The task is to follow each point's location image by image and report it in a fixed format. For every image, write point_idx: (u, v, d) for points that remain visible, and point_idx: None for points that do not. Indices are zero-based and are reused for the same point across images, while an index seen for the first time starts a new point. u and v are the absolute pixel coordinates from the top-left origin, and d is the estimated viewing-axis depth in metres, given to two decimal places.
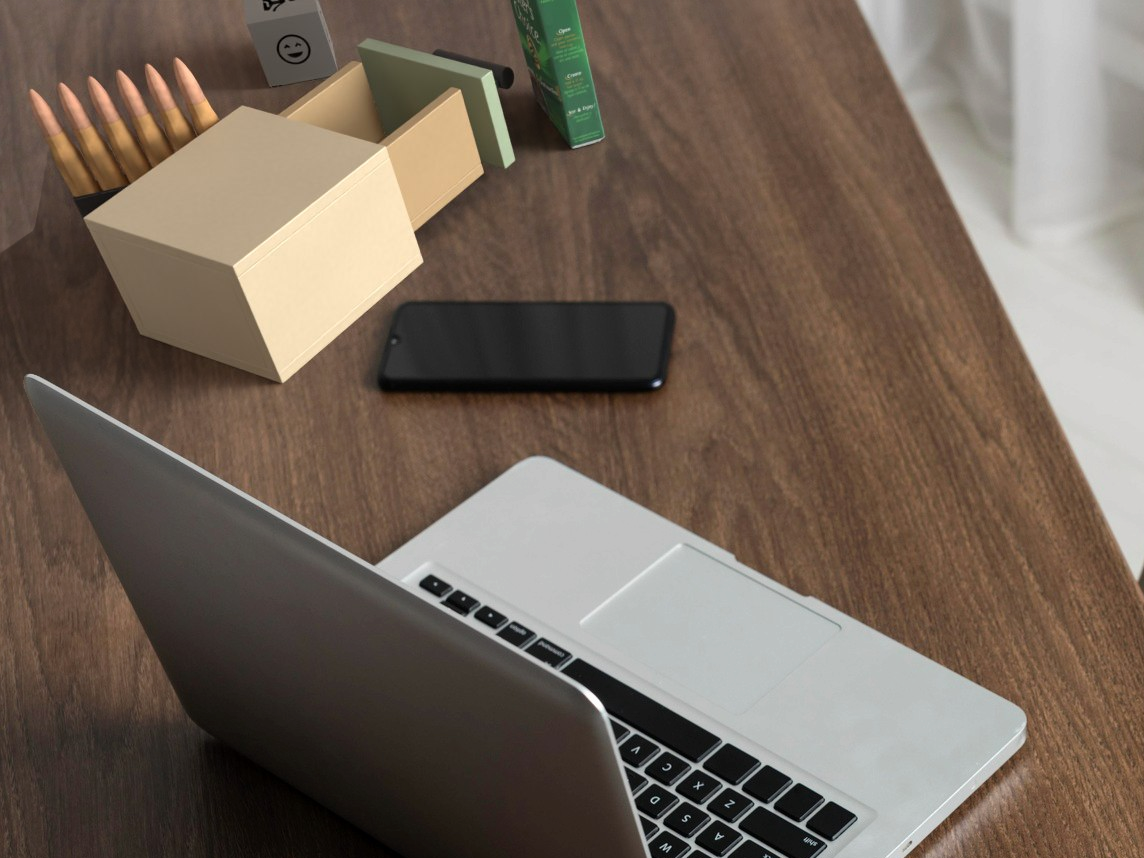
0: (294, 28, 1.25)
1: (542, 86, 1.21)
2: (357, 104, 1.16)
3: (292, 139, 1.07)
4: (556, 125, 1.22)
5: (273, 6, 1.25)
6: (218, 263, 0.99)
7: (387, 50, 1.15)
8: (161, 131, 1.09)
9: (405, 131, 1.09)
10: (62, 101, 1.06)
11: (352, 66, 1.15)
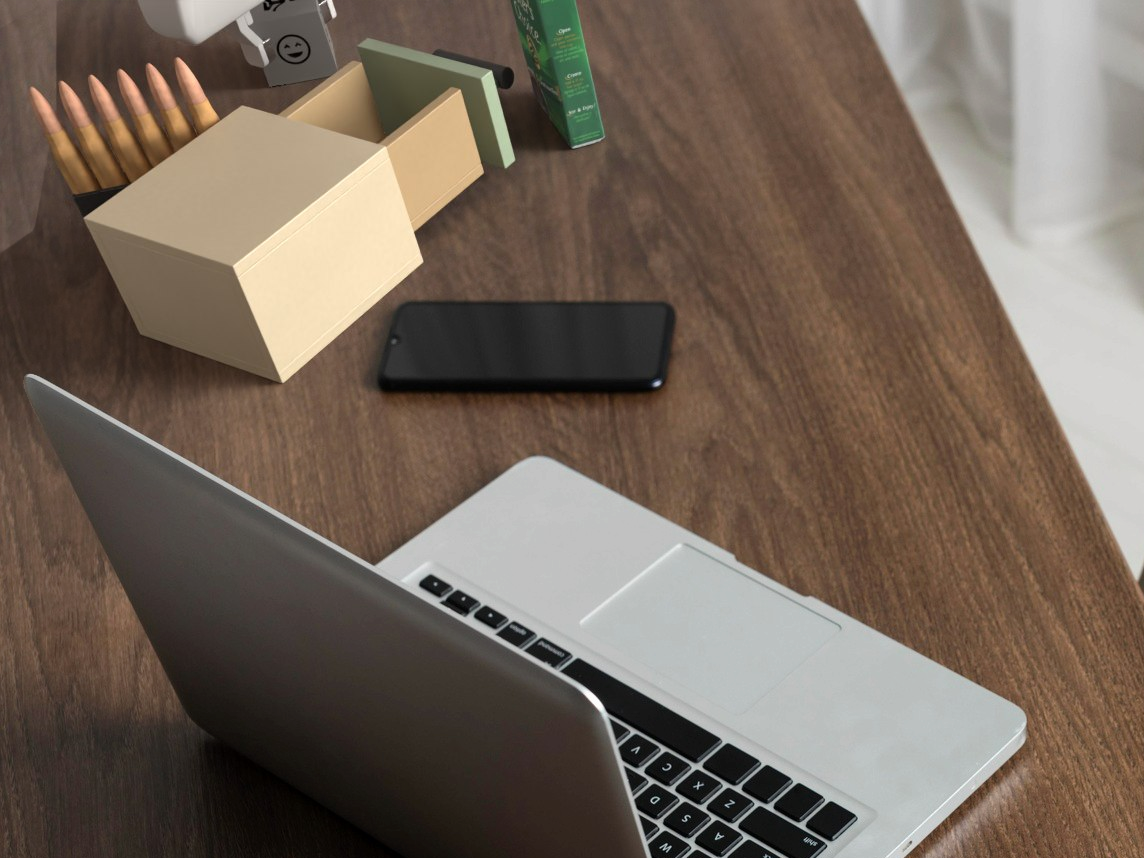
0: (294, 28, 1.25)
1: (542, 86, 1.21)
2: (357, 104, 1.16)
3: (292, 139, 1.07)
4: (556, 125, 1.22)
5: (273, 6, 1.25)
6: (218, 263, 0.99)
7: (387, 50, 1.15)
8: (161, 130, 1.09)
9: (405, 131, 1.09)
10: (63, 99, 1.06)
11: (352, 66, 1.15)
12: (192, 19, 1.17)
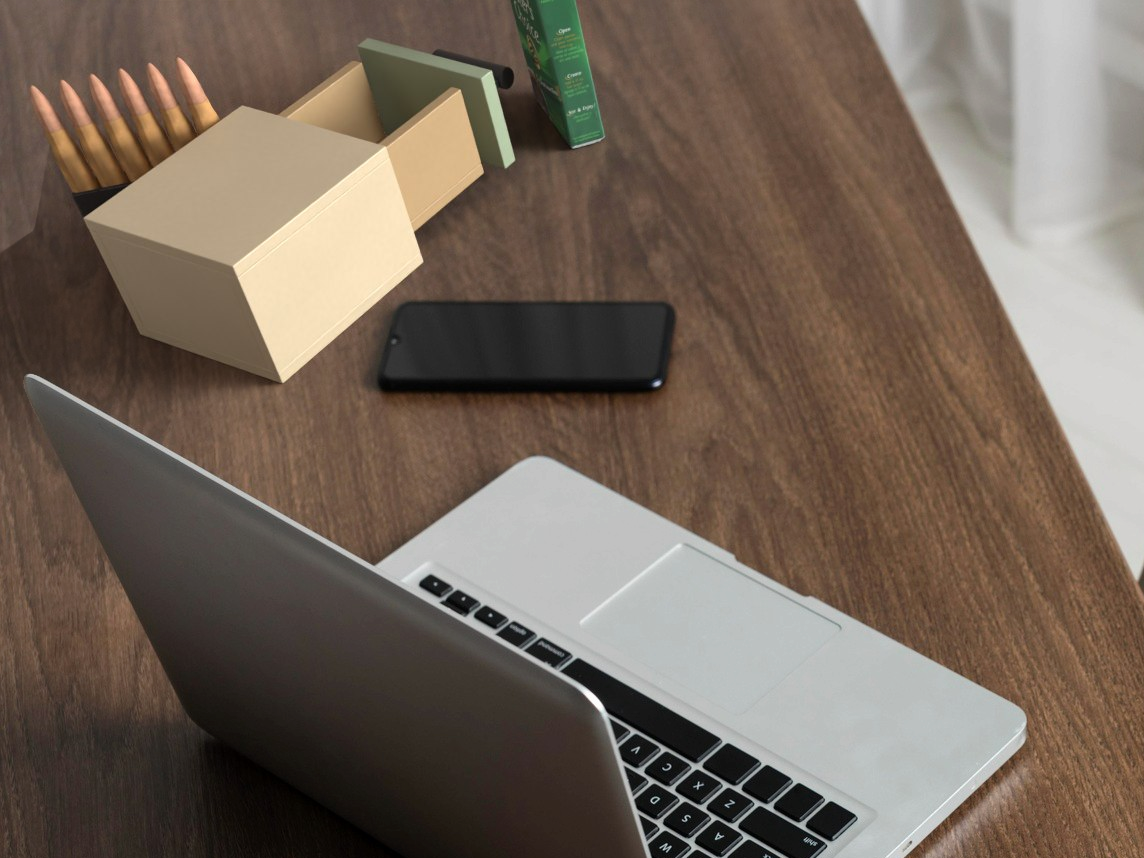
0: None
1: (542, 86, 1.21)
2: (357, 104, 1.16)
3: (292, 139, 1.07)
4: (556, 125, 1.22)
5: None
6: (218, 263, 0.99)
7: (387, 50, 1.15)
8: (161, 130, 1.09)
9: (405, 131, 1.09)
10: (63, 98, 1.06)
11: (352, 66, 1.15)
12: None
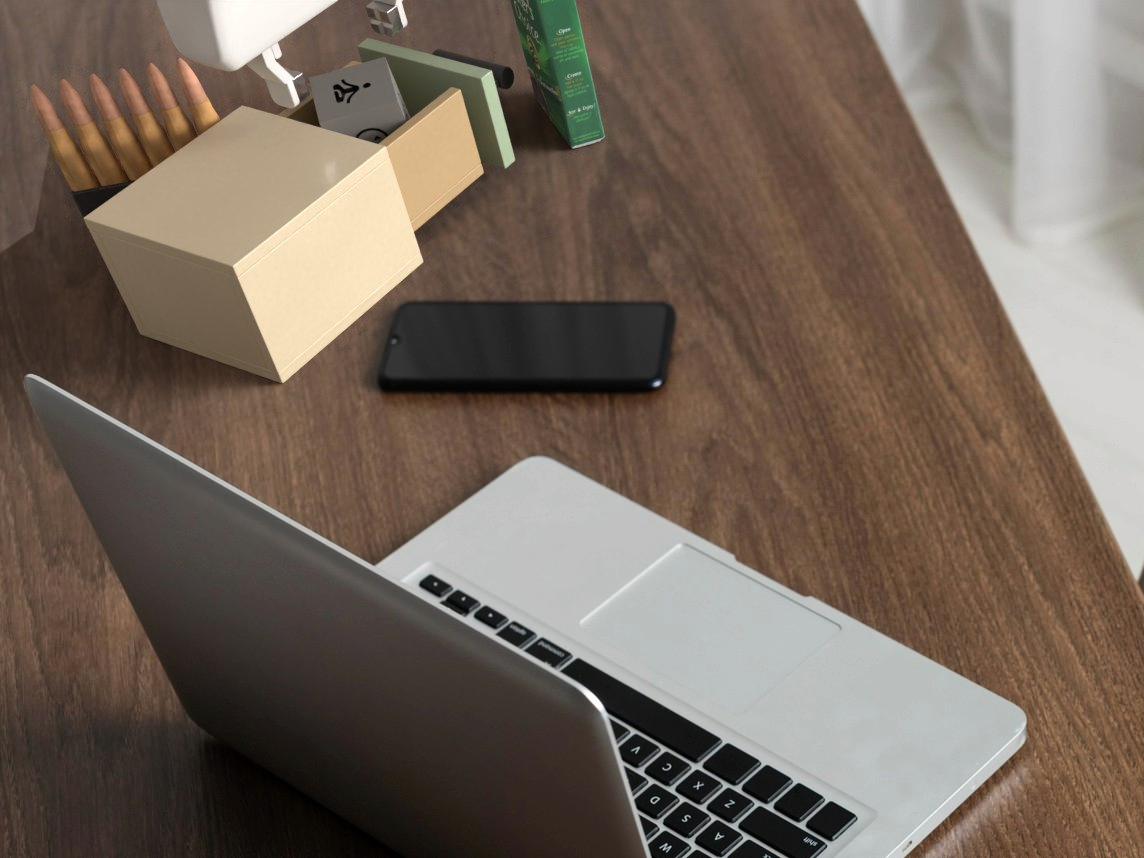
0: (372, 121, 1.09)
1: (542, 86, 1.21)
2: None
3: (292, 139, 1.07)
4: (556, 125, 1.22)
5: (346, 96, 1.10)
6: (218, 263, 0.99)
7: (387, 50, 1.15)
8: (162, 129, 1.09)
9: (405, 131, 1.09)
10: (63, 97, 1.06)
11: None
12: (229, 41, 0.98)
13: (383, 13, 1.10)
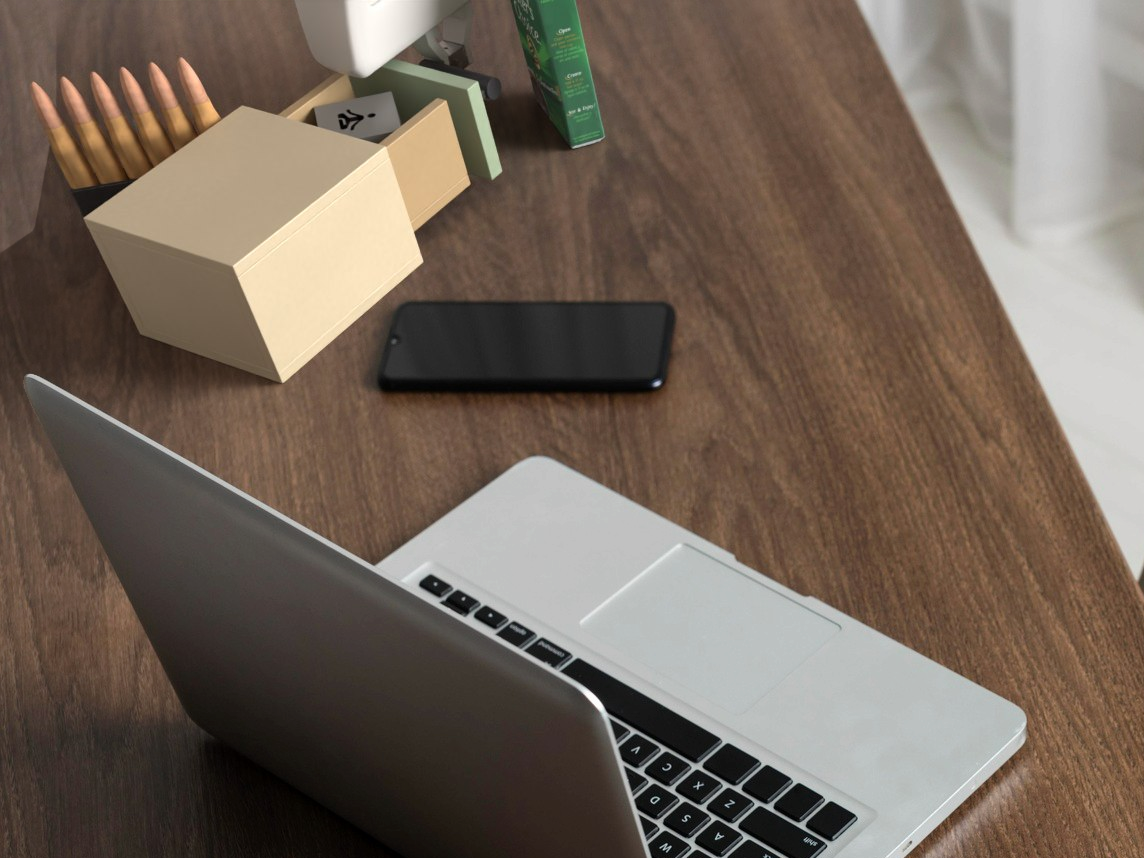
0: None
1: (542, 86, 1.21)
2: None
3: (292, 139, 1.07)
4: (556, 125, 1.22)
5: (350, 124, 1.11)
6: (218, 263, 0.99)
7: None
8: (162, 128, 1.08)
9: (390, 142, 1.08)
10: (64, 95, 1.05)
11: (338, 76, 1.14)
12: (362, 51, 1.10)
13: (452, 51, 1.20)
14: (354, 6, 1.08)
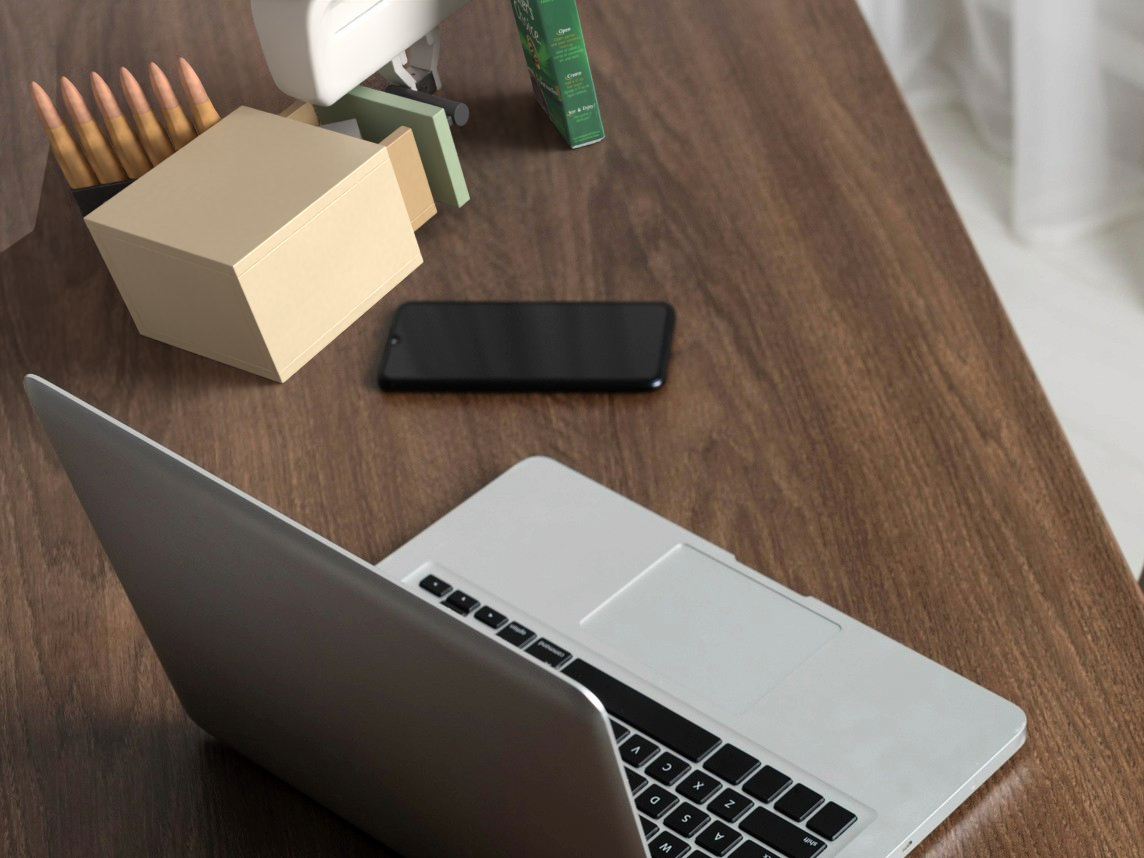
0: None
1: (542, 86, 1.21)
2: None
3: (292, 139, 1.07)
4: (556, 125, 1.22)
5: None
6: (218, 263, 0.99)
7: None
8: (162, 128, 1.08)
9: None
10: (64, 95, 1.05)
11: (301, 103, 1.12)
12: (325, 79, 1.08)
13: (419, 77, 1.18)
14: (316, 34, 1.06)
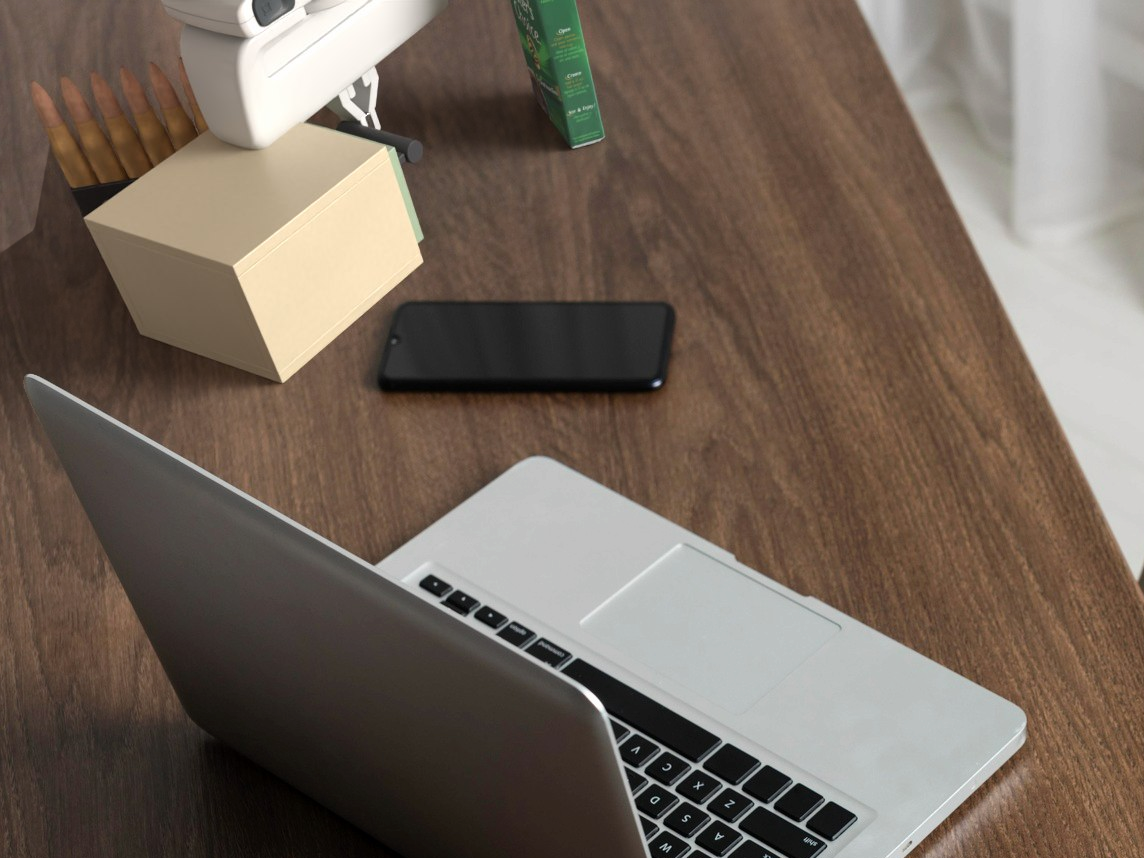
0: None
1: (542, 86, 1.21)
2: None
3: (292, 139, 1.07)
4: (556, 125, 1.22)
5: None
6: (218, 263, 0.99)
7: None
8: (162, 128, 1.08)
9: None
10: (64, 94, 1.05)
11: None
12: (260, 125, 1.05)
13: (357, 120, 1.14)
14: (248, 80, 1.03)
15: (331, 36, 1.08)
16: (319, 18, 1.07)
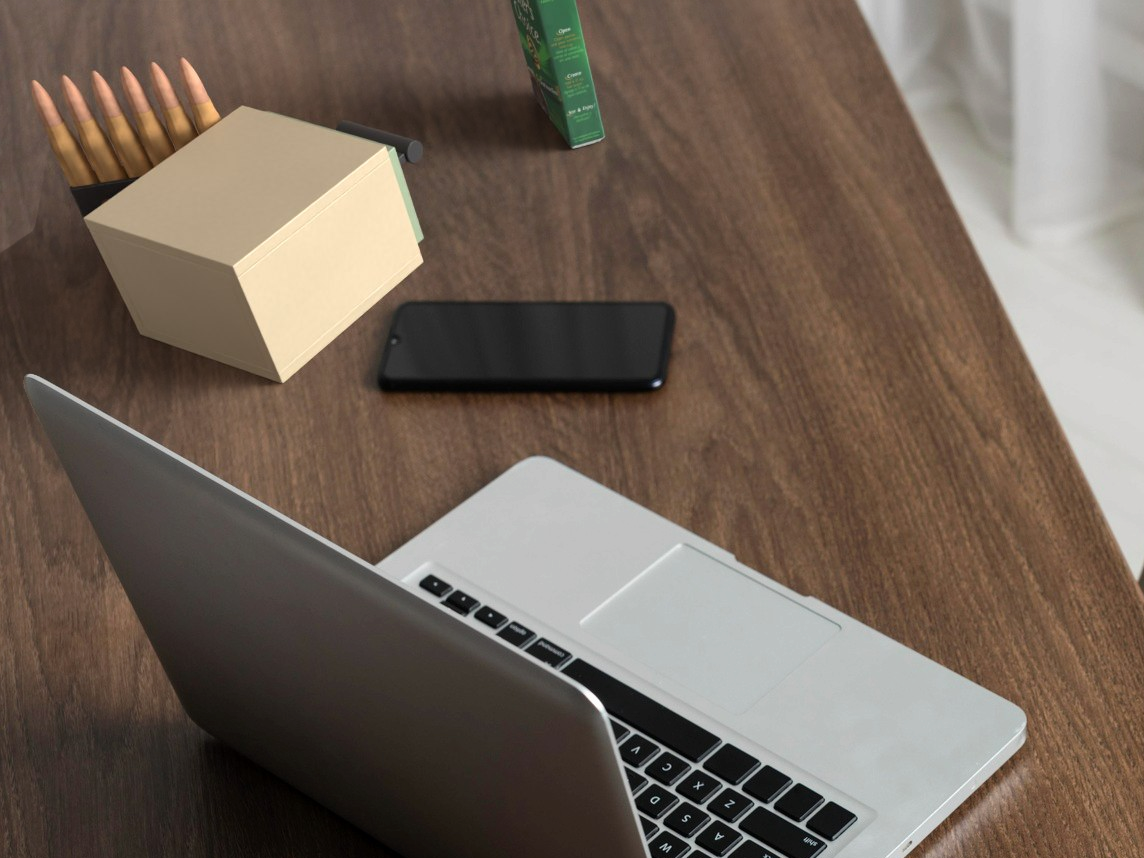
0: None
1: (542, 86, 1.21)
2: None
3: (292, 139, 1.07)
4: (556, 125, 1.22)
5: None
6: (218, 263, 0.99)
7: None
8: (162, 128, 1.08)
9: None
10: (64, 93, 1.05)
11: None
12: None
13: None
14: None
15: None
16: None
